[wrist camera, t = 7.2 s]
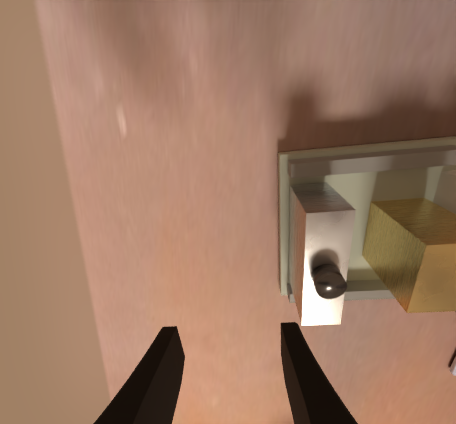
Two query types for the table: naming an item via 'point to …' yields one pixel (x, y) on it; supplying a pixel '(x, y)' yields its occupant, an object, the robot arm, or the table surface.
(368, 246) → the block
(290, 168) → the vise
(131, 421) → the robot arm
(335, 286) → the block
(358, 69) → the table surface
